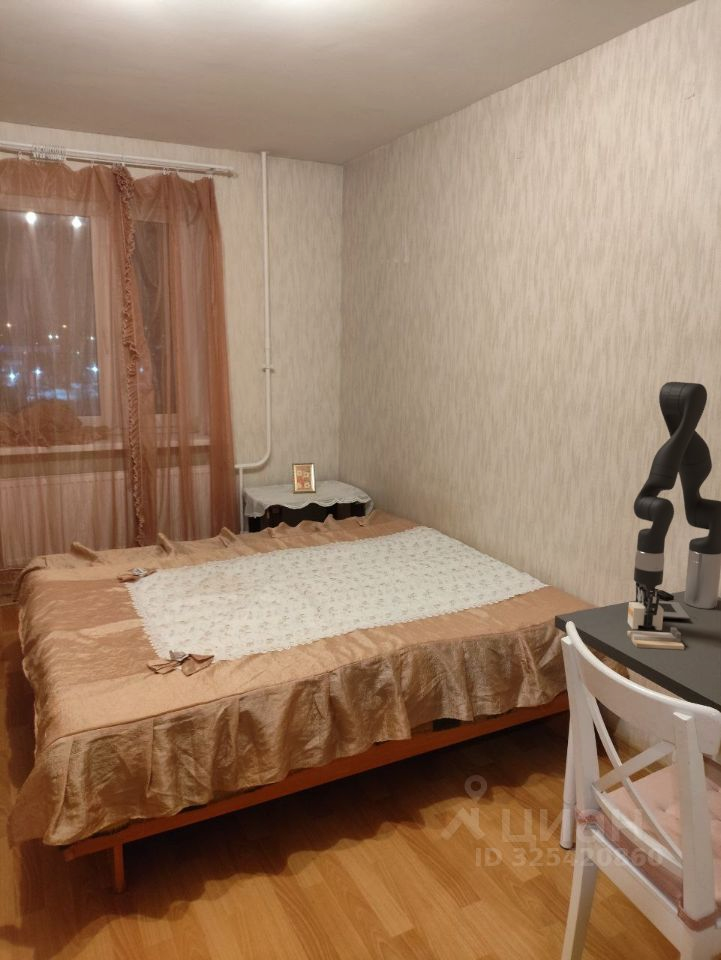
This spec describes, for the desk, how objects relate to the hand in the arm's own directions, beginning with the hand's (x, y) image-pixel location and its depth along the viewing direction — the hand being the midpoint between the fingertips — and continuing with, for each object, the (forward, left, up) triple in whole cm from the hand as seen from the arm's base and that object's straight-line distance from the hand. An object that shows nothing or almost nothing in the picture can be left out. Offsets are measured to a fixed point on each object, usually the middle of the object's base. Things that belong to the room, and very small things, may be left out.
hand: (644, 623), depth 193 cm
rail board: (+11, 0, -1) cm, 11 cm away
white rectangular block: (0, 0, -1) cm, 1 cm away
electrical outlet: (-11, +9, -2) cm, 14 cm away
